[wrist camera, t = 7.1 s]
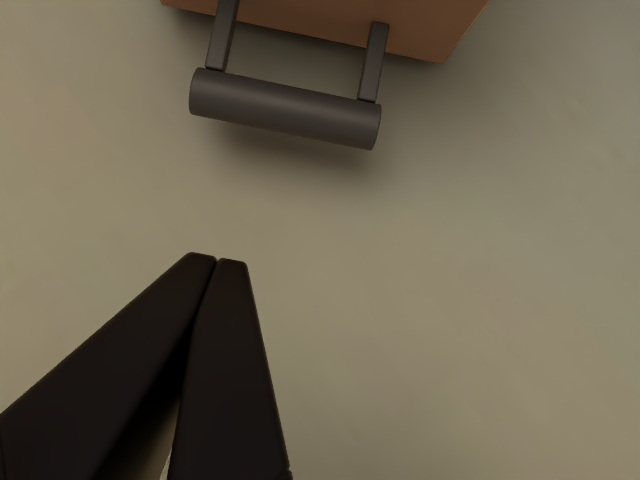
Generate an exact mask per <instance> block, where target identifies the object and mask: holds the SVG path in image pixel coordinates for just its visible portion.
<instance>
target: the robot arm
mask: <svg viewBox="0 0 640 480" xmlns="http://www.w3.org/2000/svg"><path fill="white" fill-rule="evenodd" d="M171 447H172V451H171V457H170V463H169V469H168V475H167V480H293V477H292V472H291V471H290V470H289V467H290V464H289V459H288V455H287V450H286V445H285V441H284V436H283V431H282V427H281V422H280V417H279V413H278V408H277V403H276V399H275V394H274V389H273V384H272V380H271V375H270V370H269V366H268V361H267V356H266V352H265V347H264V342H263V338H262V333H261V328H260V323H259V319H258V314H257V309H256V305H255V300H254V295H253V291H252V286H251V281H250V277H249V272H248V267H247V265H246V263H244V262H242V261H237V260H232V259H226V258H220V259H219V260H218V261H217V259H216V258H215V257H214V256H211V255H205V254H200V253H195V252H190V253H187V254H186V255H184V256H183V257H182V258H181V259H180V260H179V261H178V262H176V263H175V264H174V265H173V266H172V267H171V268H169V269H168V270H167V271H166V272H165V273H164V274H162V275H161V276H160V277H159V278H158V279H157V280H155V281H154V282H153V283H152V284H151V285H150V286H148V287H147V288H146V289H145V290H144V291H143V292H141V293H140V294H139V295H138V296H137V297H136V298H135V299H133V300H132V301H131V302H130V303H129V304H128V305H126V306H125V307H124V308H123V309H122V310H121V311H119V312H118V313H117V314H116V315H115V316H114V317H112V318H111V319H110V320H109V321H108V322H107V323H105V324H104V325H103V326H102V327H101V328H100V329H99V330H97V331H96V332H95V333H94V334H93V335H92V336H90V337H89V338H88V339H87V340H86V341H85V342H83V343H82V344H81V345H80V346H79V347H78V348H76V349H75V350H74V351H73V352H72V353H71V354H69V355H68V356H67V357H66V358H65V359H64V360H62V361H61V362H60V363H59V364H58V365H57V366H55V367H54V368H53V369H52V370H51V371H50V372H49V373H47V374H46V375H45V376H44V377H43V378H42V379H40V380H39V381H38V382H37V383H36V384H35V385H33V386H32V387H31V388H30V389H29V390H28V391H26V392H25V393H24V394H23V395H22V396H21V397H19V398H18V399H17V400H16V401H15V402H14V403H12V404H11V405H10V406H9V407H8V408H7V409H5V410H4V411H3V412H2V413H1V414H0V480H159V478H160V476H161V473H162V470H163V468H164V465H165V463H166V460H167V458H168V455H169V452H170V450H171Z"/></svg>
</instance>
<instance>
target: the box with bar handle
mask: <svg viewBox="0 0 640 480" xmlns="http://www.w3.org/2000/svg"><path fill="white" fill-rule="evenodd" d="M160 2H161V4H162V5H166V6H171V7H175V8H180V9H185V10H190V11H194V12H199V13H204V14H208V15H213V16H215V19H214V24H213V29H212V33H211V38H210V43H209V48H208V53H207V57H206V62H205V68H206V69H205V68H200V67H199V68H197V69H196V70H195V72H194V75H193V78H192V82H191V87H190V93H189V110H190V113H191V114H192V115H197V116H202V117H207V118H212V119H217V120H222V121H227V122H232V123H237V124H242V125H246V126H251V127H256V128H261V129H266V130H271V131H276V132H281V133H286V134H291V135H296V136H301V137H306V138H311V139H316V140H321V141H326V142H330V143H335V144H340V145H345V146H350V147H355V148H360V149H365V150H372V149H373V147H374V144H375V141H376V138H377V134H378V129H379V125H380V119H381V111H382V107H381V105H379V104H374V103H375V101H376V98H377V92H378V87H379V81H380V76H381V71H382V65H383V60H384V54H385V52H388V53H393V54H397V55H402V56H407V57H412V58H416V59H421V60H426V61H431V62H435V63H440V64H442V63H443V62H444V61H445V59H446V58H447V57H448V55H449V54H450V53H451V51H452V50H453V49H454V47H455V46H456V45H457V43H458V42H459V41H460V39H461V38H462V37H463V35H464V34H465V33H466V31H467V30H468V29H469V27H470V26H471V25H472V23H473V22H474V21H475V19H476V18H477V17H478V15H479V14H480V13H481V11H482V10H483V8H484V7H485V6H486V4H487V3H488V2H489V0H160ZM236 20H237V21H242V22H246V23H251V24H256V25H260V26H265V27H270V28H275V29H279V30H284V31H289V32H294V33H298V34H303V35H308V36H312V37H317V38H322V39H327V40H331V41H336V42H341V43H346V44H350V45H355V46H360V47H364V48H366V51H365V56H364V62H363V67H362V72H361V78H360V83H359V88H358V94H357V99H356V100H355V99H350V98H345V97H340V96H335V95H330V94H326V93H321V92H316V91H311V90H306V89H301V88H297V87H292V86H287V85H282V84H277V83H272V82H268V81H263V80H258V79H253V78H248V77H243V76H239V75H234V74H229V73H225V71H226V66H227V61H228V56H229V52H230V47H231V42H232V37H233V32H234V27H235V23H236Z"/></svg>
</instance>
